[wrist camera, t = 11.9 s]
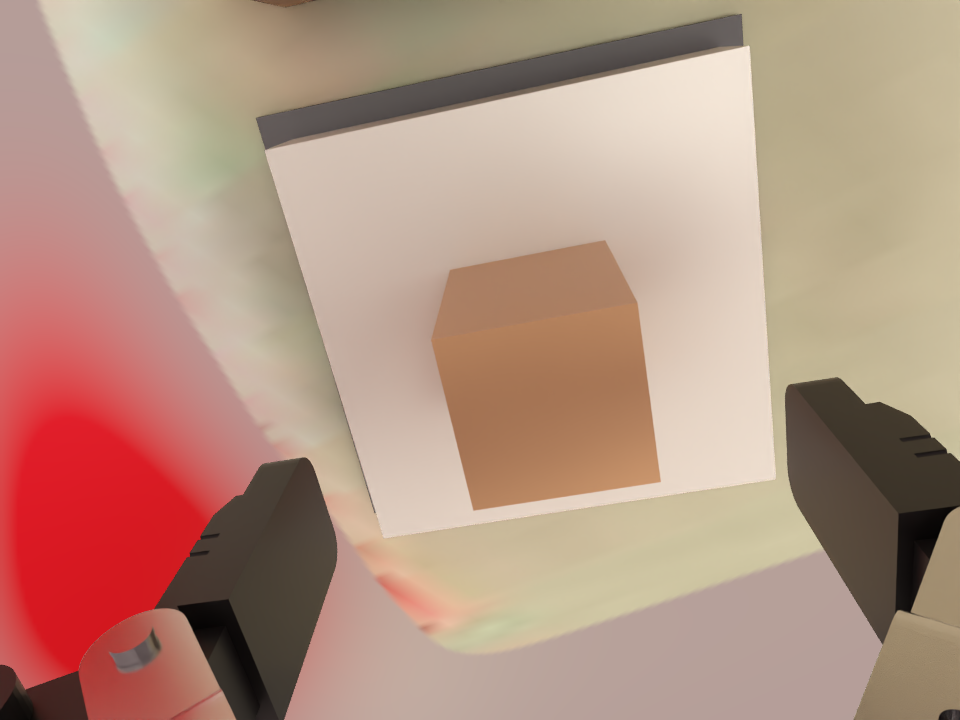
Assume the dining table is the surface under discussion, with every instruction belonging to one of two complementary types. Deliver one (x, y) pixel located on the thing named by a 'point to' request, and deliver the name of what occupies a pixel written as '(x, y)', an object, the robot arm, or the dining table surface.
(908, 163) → the dining table surface
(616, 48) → the mat
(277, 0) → the storage box
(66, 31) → the dining table surface
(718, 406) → the lid
